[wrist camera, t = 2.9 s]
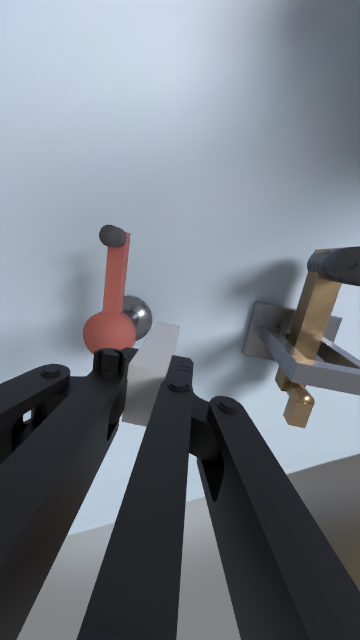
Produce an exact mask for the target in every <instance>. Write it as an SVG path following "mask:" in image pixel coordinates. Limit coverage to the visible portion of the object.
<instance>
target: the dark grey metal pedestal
mask: <svg viewBox="0 0 360 640" xmlns="http://www.w3.org/2000/svg"><path fill="white" fill-rule="evenodd" d="M122 312H123V313H125V314H126V315H128V316H129V317H130V318H131V320H132V321H133V323H134V325H135V328H136V334H137V335H136V341H137V340H139V339H141V338H143V337H144V336H145V335H146V334H147V333H148V331H149V330H150V328H151V325H152V314H151V311H150V309H149V307H148V306H147V304H146V303H145V302H144V301H142V300H141V299H139V298H137V297H133V296H124V299H123V309H122Z"/></svg>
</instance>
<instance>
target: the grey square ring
mask: <svg viewBox="0 0 360 640" xmlns="http://www.w3.org/2000/svg"><path fill="white" fill-rule="evenodd" d="M296 310H297V309H292V308H286V307H281V306H275V305H270V304H264V303H259V302H255V305H254V309H253V313H252V317H251V321H250V324H249V328H248V332H247V336H246V340H245V344H244V348H243V351H242V353H243V354H244V355H249V356H254V357H260V358H265V359H270V360H275V361H277V363H278V364H279V365H280V367H281V368H282V370H283V371H284V372H285V374H286V375H287V377H288V378H289V379H290V381H291V382H294V383H299V384H304V385H309V386H314V387H319V388H324V389H330V390H335V391H340V392H345V393H350V394H355V395H360V360H358V359H357V358H355V357H354V356H352V355H351V354H349V353H348V352H346V351H345V350H343V349H341V348H340V347H338V346H337V345H335V344H334V343H333V342H334V340H335V337H336V334H337V331H338V329H339V326H340V323H341V321H342V318H340V317H336V316H330V318H329V321H328V324H327V327H326V329H325V332H324V335H323V338H322V341H321V344H320V347H319V349H318V352H317V355H316V358H315V361H314V360H309V359H306V358H305V357H304V356H303V355H302V354H301V353H300V352H299V351H298V350H297V349H296V348H295V347H294V346H293V345H292V344H291V343H290V342H289V341H288V340H287V339H288V335H289V332H290V329H291V326H292V322H293V319H294V316H295V313H296Z"/></svg>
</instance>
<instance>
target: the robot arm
mask: <svg viewBox="0 0 360 640" xmlns="http://www.w3.org/2000/svg"><path fill="white" fill-rule="evenodd" d="M179 328H180V326H176V325H171V324H166V323H160V322H157V324H156V325H155V327H154V328H153V330H152V331H151V333H150V334H149V336H148V337H147V338H146V340H145V341H144V343H143V344H142V346H141V347H140V349H135V348H130V347H126V348H124V349H121V350H119V349H115V348H102V349H98V350H96V351H94V360H93V370H92V371H91V372H90V373H89V374H88V375H87V376H83V377H76V376H70V370H69V368H68V367H66V366H63V365H59V364H50V365H44V366H41V367H38V368H35V369H33V370H31V371H29V372H26V373H24V374H22V375H20V376H17V377H15V378H13V379H11V380H8V381H6V382H4V383H1V384H0V640H16V639H17V637H18V635H19V633H20V631H21V629H22V627H23V625H24V623H25V620H26V618H27V616H28V614H29V612H30V610H31V608H32V606H33V604H34V602H35V600H36V598H37V596H38V594H39V592H40V590H41V588H42V586H43V583H44V581H45V579H46V577H47V575H48V573H49V571H50V569H51V567H52V565H53V563H54V561H55V559H56V556H57V554H58V552H59V550H60V548H61V546H62V544H63V542H64V540H65V538H66V536H67V534H68V532H69V530H70V528H71V525H72V523H73V521H74V519H75V517H76V515H77V513H78V511H79V509H80V507H81V505H82V503H83V501H84V499H85V497H86V494H87V492H88V490H89V488H90V486H91V484H92V482H93V480H94V478H95V476H96V474H97V472H98V470H99V468H100V465H101V463H102V461H103V459H104V457H105V455H106V453H107V451H108V449H109V447H110V445H111V443H112V441H113V439H114V436H115V434H116V432H117V430H118V426H119V418H120V417H121V415H122V413H123V415H122V422H127V423H132V424H136V425H141V426H146V427H147V428H146V431H145V434H144V437H143V440H142V443H141V446H140V449H139V452H138V455H137V458H136V461H135V464H134V467H133V470H132V473H131V476H130V479H129V482H128V485H127V488H126V491H125V494H124V498H123V501H122V504H121V507H120V510H119V513H118V516H117V519H116V522H115V525H114V528H113V531H112V534H111V537H110V540H109V543H108V546H107V549H106V552H105V556H104V559H103V561H102V565H101V568H100V571H99V574H98V577H97V580H96V583H95V586H94V589H93V592H92V595H91V598H90V601H89V604H88V607H87V610H86V613H85V616H84V619H83V622H82V626H81V628H80V632H79V634H78V637H77V640H176V634H177V620H178V605H179V591H180V576H181V561H182V545H183V531H184V517H185V516H184V515H185V502H186V487H187V472H188V458H189V453H190V454H192V455H194V456H196V457H197V465H198V469H199V473H200V477H201V481H202V485H203V489H204V493H205V497H206V501H207V505H208V509H209V513H210V517H211V521H212V525H213V529H214V533H215V537H216V541H217V545H218V549H219V553H220V557H221V561H222V565H223V569H224V573H225V577H226V581H227V585H228V589H229V593H230V597H231V601H232V605H233V609H234V613H235V617H236V621H237V625H238V629H239V633H240V637H241V640H360V591H359V590H358V588H357V586H356V585H355V583H354V582H353V580H352V578H351V577H350V575H349V574H348V572H347V571H346V569H345V567H344V566H343V564H342V563H341V561H340V559H339V558H338V556H337V555H336V553H335V552H334V550H333V548H332V547H331V545H330V544H329V542H328V541H327V539H326V537H325V536H324V534H323V532H322V531H321V529H320V528H319V526H318V525H317V523H316V521H315V520H314V518H313V517H312V515H311V514H310V512H309V510H308V509H307V507H306V506H305V504H304V502H303V501H302V499H301V498H300V496H299V494H298V493H297V491H296V490H295V489H294V487H293V485H292V483H291V482H290V480H289V479H288V477H287V475H286V474H285V472H284V471H283V469H282V467H281V466H280V464H279V463H278V461H277V460H276V458H275V456H274V455H273V453H272V452H271V450H270V448H269V447H268V445H267V444H266V442H265V440H264V439H263V437H262V436H261V434H260V433H259V431H258V429H257V428H256V426H255V425H254V423H253V421H252V420H251V418H250V417H249V415H248V413H247V412H246V410H245V409H244V407H243V406H242V405H241V404H240V403H239V402H237V401H236V400H234V399H232V398H230V397H224V396H216V397H214V398H212V399H211V400H210V402H207V401H205V400H203V399H201V398H199V397H198V396H196V395H195V394H194V392H193V388H192V377H193V364H194V363H193V362H192V360H191V359H190V358H185V357H180V356H175V351H176V345H177V339H178V334H179ZM30 410H31V418H30V419H29V420H27V421H25V422H23V414H25V413H27V412H28V411H30Z"/></svg>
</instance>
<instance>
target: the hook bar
mask: <svg viewBox="0 0 360 640" xmlns="http://www.w3.org/2000/svg"><path fill="white" fill-rule="evenodd" d="M307 269H308V274H307V277H306V280H305V284H304V287H303V290H302V293H301V297H300V300H299V303H298V306H297V310H296V313H295V316H294V319H293V322H292V326H291V329H290V332H289V335H288V339H287V340H288V341H289V342H290V343H291V344H292V345H293V346H294V347H295V348H296V349H297V350H298V351H299V352H300V353H301V354H302V355H303V356H304V357H305V358H306V359H309V360H314V361H315V358H316V355H317V352H318V349H319V347H320V344H321V341H322V338H323V335H324V332H325V329H326V327H327V324H328V321H329V318H330V315H331V312H332V310H333V307H334V304H335V301H336V298H337V295H338V292H339V290H340V287H341V284H342V283H344V284H349V285H355V286H360V247H346V248H332V249H320V250H315V251H314V253H313V254H312V255H311V257H310V258H309V260H308V263H307ZM275 381H276V383H277V385H278V386H279V388H280V390H281V391H286V392H287V394H288V396H289V399H288V402H287V405H286V408H285V411H284V414H283V416H284V417H285V419H286V421H287V423H288V425H292V426H297V427H302V428H305V427H306V424H307V421H308V419H309V416H310V413H311V411H312V408H313V406H314V399H313V397H312V396H311V395H310V393H309V392H308V391H307V390H306V388H305V386H306V385H304V384H299V383H294V382H291V381H290V379H289V378H288V377H287V375H286V374H285V372H284V371H283V370H282V368H281V367H280V365H279V368H278V371H277V374H276V377H275Z"/></svg>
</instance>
